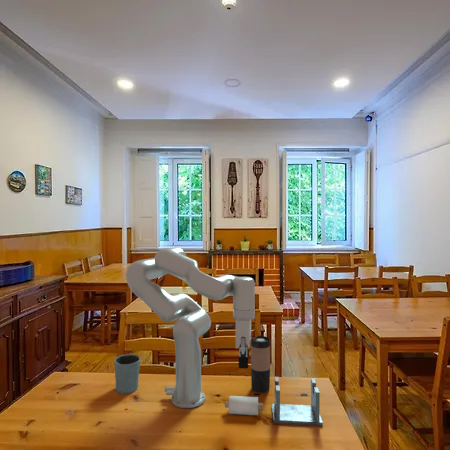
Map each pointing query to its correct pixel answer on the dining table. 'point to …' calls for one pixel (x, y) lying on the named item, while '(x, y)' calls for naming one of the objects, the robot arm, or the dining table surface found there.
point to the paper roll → (243, 405)
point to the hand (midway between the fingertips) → (243, 362)
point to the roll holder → (297, 409)
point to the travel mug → (260, 364)
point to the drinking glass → (127, 373)
